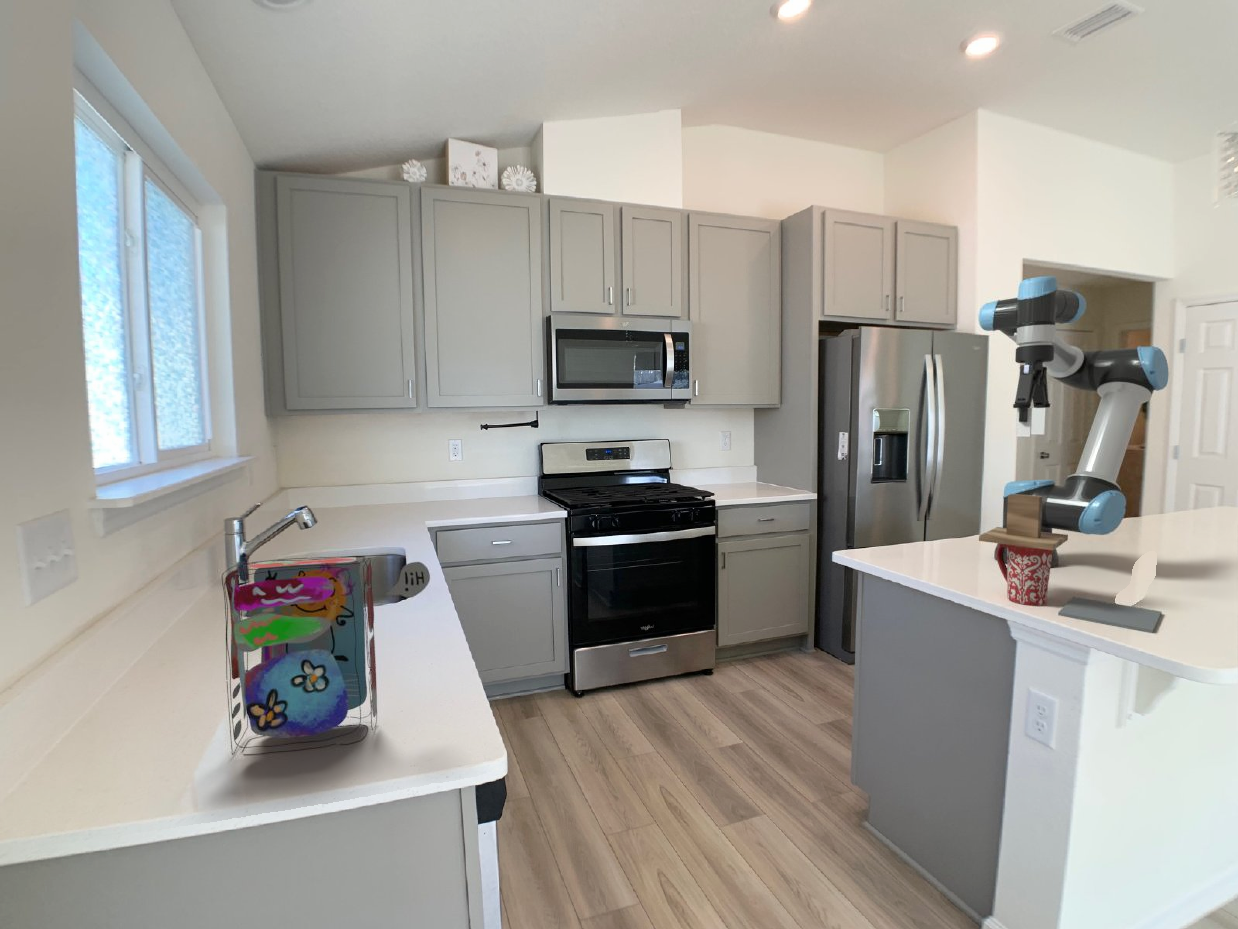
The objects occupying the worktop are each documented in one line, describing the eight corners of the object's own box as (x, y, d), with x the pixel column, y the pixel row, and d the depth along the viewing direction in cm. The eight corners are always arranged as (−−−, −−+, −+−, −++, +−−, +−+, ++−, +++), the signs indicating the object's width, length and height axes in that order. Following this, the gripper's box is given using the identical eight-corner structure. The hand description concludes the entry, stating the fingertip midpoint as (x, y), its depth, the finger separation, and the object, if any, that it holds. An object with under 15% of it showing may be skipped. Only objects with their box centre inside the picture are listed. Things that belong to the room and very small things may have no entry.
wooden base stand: (997, 531, 148) (998, 490, 147) (1067, 540, 138) (1069, 495, 137) (978, 540, 138) (980, 496, 137) (1053, 550, 128) (1055, 502, 127)
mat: (1073, 599, 138) (1073, 596, 138) (1161, 614, 127) (1161, 611, 127) (1058, 615, 128) (1058, 612, 128) (1152, 633, 117) (1153, 630, 117)
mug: (1062, 605, 134) (1065, 545, 132) (1026, 608, 132) (1029, 547, 131) (1015, 589, 146) (1017, 534, 145) (982, 592, 144) (984, 535, 143)
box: (437, 713, 90) (430, 549, 87) (434, 734, 84) (426, 559, 81) (249, 734, 84) (237, 561, 82) (231, 759, 78) (218, 572, 76)
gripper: (1029, 349, 155) (1026, 433, 157) (1001, 343, 138) (997, 437, 140) (1065, 347, 150) (1061, 433, 151) (1040, 340, 132) (1036, 437, 134)
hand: (1030, 435), depth 145 cm, fingers open, 13 cm apart
